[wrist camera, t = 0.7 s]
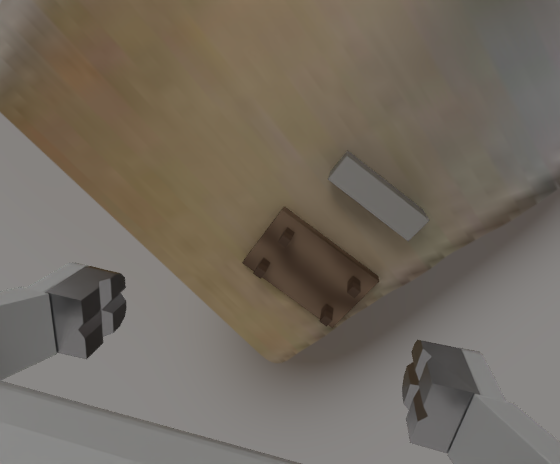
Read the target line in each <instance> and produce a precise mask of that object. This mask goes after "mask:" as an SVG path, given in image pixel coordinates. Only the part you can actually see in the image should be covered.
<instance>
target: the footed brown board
mask: <svg viewBox="0 0 560 464" xmlns="http://www.w3.org/2000/svg"><path fill="white" fill-rule="evenodd" d="M242 263H243V264H245V265H246V266H247V267H249V268H250V269H251V270H253V271H254V274H255V275H256V276H258V277H259V278H260V279H261V277H263V278H264V279H265V280H267V281H268V282H269V283H271V284H272V285H274V286H275V287H276V288H278V289H279V290H280V291H282V292H283V293H285V294H286V295H287V296H289V297H290V298H292V299H293V300H294V301H296V302H297V303H298V304H300V305H301V306H303V307H304V308H305V309H307V310H308V311H310V312H311V313H312V314H314V315H315V316H316V317H318V318H319V319H320V322H321V323H323V324H324V325H326V326H327V325H329V326H330V327H332V328H333V327H334V326H335V325H336V324H337V323H338V322H339V321H340V320H341V319H342V318H343V317H344V316H345V315H346V314H347V313H348V312H349V311H350V310H351V309H352V308H353V307H354V306H355V305H356V304H357V303H358V302H359V301H360V300H361V299H362V298H363V297H364V296H365V295H366V294H367V293H368V292H369V291H370V290H371V289H372V288H373V287H374V286H375V285H376V284H377V283H378V282H379V278H378V276H377V275H376V274H375V273H373V272H372V271H371V270H369V269H368V268H367V267H365V266H364V265H362V264H361V263H360V262H358V261H357V260H356V259H354V258H353V257H352V256H350V255H349V254H348V253H346V252H345V251H344V250H342V249H341V248H340V247H338V246H337V245H336V244H334V243H333V242H331V241H330V240H329V239H327V238H326V237H325V236H323V235H322V234H321V233H319V232H318V231H317V230H315V229H314V228H313V227H311V226H310V225H309V224H307V223H306V222H305V221H303V220H302V219H300V218H299V217H298V216H296V215H295V214H294V213H292V212H291V211H290V210H288V209H287V208H286V207H284V208H283V209H282V210H281V212H280V213H279V214H278V216H277V217H276V218H275V220H274V221H273V222H272V224H271V225H270V226H269V228H268V229H267V230H266V231H265V233H264V234H263V235H262V237H261V238H260V239H259V241H258V242H257V243H256V245H255V246H254V247H253V249H252V250H251V251H250V253H249V254H248V255H247V257H246V258H245V259H244V261H243V262H242Z"/></svg>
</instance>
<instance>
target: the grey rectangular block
mask: <svg viewBox="0 0 560 464" xmlns="http://www.w3.org/2000/svg"><path fill="white" fill-rule="evenodd" d="M328 180H329V181H331V182H332V183H333V184H335V185H336V186H337V187H338V188H340V189H341V190H342V191H344V192H345V193H346V194H347V195H349V196H350V197H351V198H353V199H354V200H355V201H357V202H358V203H359V204H360V205H362V206H363V207H364V208H366V209H367V210H368V211H369V212H371V213H372V214H373V215H375V216H376V217H377V218H379V219H380V220H381V221H382V222H384V223H385V224H386V225H388V226H389V227H390V228H392V229H393V230H394V231H395V232H397V233H398V234H399V235H401V236H402V237H403V238H404V239H406V240H407V241H409V240H410V239H411V238H412V237H413V236H414V235H415V234H416V233H417V232H418V231H419V230H420V229H421V228H422V227H423V226H424V225H425V224H426V223H427V222H428V221H429V219H428V217H427V215H426V213H425V212H424V210H423V209H422V208H421V207H419V206H418V205H417V204H416V203H414V202H413V201H412V200H410V199H409V198H408V197H407V196H405V195H404V194H403V193H402V192H400V191H399V190H398V189H396V188H395V187H394V186H393V185H391V184H390V183H389V182H387V181H386V180H385V179H384V178H382V177H381V176H380V175H379V174H377V173H376V172H375V171H373V170H372V169H371V168H370V167H368V166H367V165H366V164H364V163H363V162H362V161H361V160H359V159H358V158H357V157H356V156H354V155H353V154H352V153H350V152H349V151H348V150H347V152H346V153H345V154H344V155H343V157H342V158H341V159H340V160H339V162H338V163H337V164H336V165H335V167H334V168H333V169H332V170H331V172H330V174H329V177H328Z"/></svg>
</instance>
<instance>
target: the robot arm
mask: <svg viewBox="0 0 560 464" xmlns="http://www.w3.org/2000/svg"><path fill="white" fill-rule="evenodd" d="M125 288H126V286H125V277H124V276H123V275H122V274H120V273H117V272H113V271H108V270H104V269H100V268H96V267H92V266H88V265H83V264H79V263H68V264H66V265H65V266H63V267H61V268H59V269H58V270H56V271H54V272H53V273H51V274H49V275H47V276H46V277H44V278H42V279H41V280H39V281H37V282H35V283H34V284H32V285H30V286H29V287H27V288H22V287H18V288H14V289H9V290H5V291H0V380H3V379H5V378H7V377H9V376H11V375H13V374H15V373H17V372H20V371H22V370H24V369H26V368H28V367H30V366H32V365H35V364H37V363H39V362H41V361H43V360H45V359H47V358H50V357H52V356H53V355H56V354H57V353H61V354H66V355H71V356H74V357H79V358H84V359H87V358H88V357H89V356H90V355H92V354H93V352H95V350H97V349H98V348H99V347H100V345H102V344H103V337H104V336H106V335H109V334H111V333H114V332H115V331H116V329H118V327H120V325H121V323H122V321H123V319H124V317H125V313H126V300H125V299H124V297H123V296H122V294H121V292H122V291H123V290H124V289H125ZM412 357H413V363H411V364H409V365H408V366H407V368H406V371H405V374H404V380H403V387H402V394H403V403H404V405H405V406H406V407H407V408H408V410H409V412H408V415H407V418H406V421H407V427H408V433H409V439H410V443H413V444H416V445H420V446H423V447H427V448H430V449H434V450H437V451H441V452H444V453H448V457H449V458H450V460H451V461H452V462H453V464H560V441H559V440H557V439H556V438H555V437H554V436H553V435H552V434H550V433H549V432H548V431H547V430H545V429H544V428H543V427H542V426H540V425H539V424H538V423H537V422H536V421H535V420H533V419H532V418H531V417H529V415H527V414H526V413H525V412H524V411H523V410H521V409H520V408H519V407H518V406H516V405H515V404H514V403H511V402H507V401H506V399H505V397H504V395H503V393H502V391H501V389H500V387H499V385H498V383H497V381H496V379H495V377H494V375H493V373H492V371H491V370H490V367H489V365H488V364H487V362H486V360H485V358H484V356H483V354H481V353H480V352H478V351H473V350H468V349H463V348H456V347H451V346H446V345H441V344H436V343H431V342H426V341H421V340H417V341H416V342H415V344H414V347H413V350H412ZM0 464H301V463H297V462H293V461H290V460H286V459H283V458H279V457H276V456H272V455H268V454H265V453H261V452H258V451H254V450H251V449H246V448H243V447H239V446H236V445H232V444H229V443H225V442H221V441H217V440H214V439H211V438H206V437H203V436H199V435H196V434H192V433H189V432H185V431H181V430H178V429H174V428H170V427H167V426H163V425H160V424H156V423H152V422H149V421H145V420H141V419H137V418H134V417H130V416H127V415H123V414H119V413H116V412H112V411H109V410H105V409H101V408H98V407H94V406H90V405H87V404H83V403H79V402H76V401H72V400H69V399H65V398H61V397H58V396H54V395H50V394H47V393H43V392H40V391H36V390H32V389H29V388H25V387H21V386H18V385H14V384H11V383H7V382H3V381H0Z"/></svg>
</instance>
